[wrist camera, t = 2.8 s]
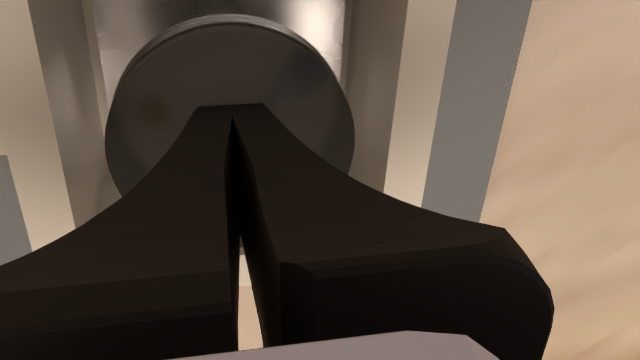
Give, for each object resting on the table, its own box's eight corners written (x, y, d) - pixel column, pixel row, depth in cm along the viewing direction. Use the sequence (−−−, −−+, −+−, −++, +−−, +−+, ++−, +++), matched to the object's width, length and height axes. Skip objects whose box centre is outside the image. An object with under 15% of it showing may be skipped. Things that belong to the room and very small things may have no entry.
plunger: (343, -70, 15) (407, -10, 10) (329, 144, 18) (373, 262, 14) (86, -76, 14) (31, -12, 9) (120, 152, 17) (91, 283, 13)
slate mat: (592, -291, 14) (602, -293, 14) (469, 239, 23) (473, 246, 22) (-280, -373, 11) (-295, -378, 11) (-44, 275, 20) (-49, 283, 19)
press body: (398, -132, 15) (474, -103, 11) (365, 173, 20) (409, 273, 16) (-73, -151, 13) (-198, -126, 9) (17, 189, 18) (-37, 307, 14)
